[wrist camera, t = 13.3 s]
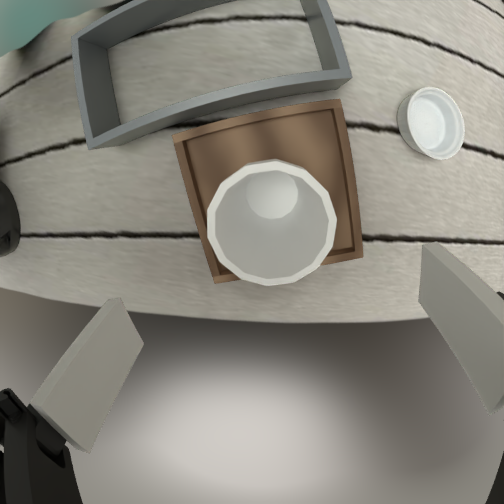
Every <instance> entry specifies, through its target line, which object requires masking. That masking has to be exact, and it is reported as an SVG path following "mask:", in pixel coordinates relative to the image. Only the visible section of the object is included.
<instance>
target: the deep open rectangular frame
mask: <svg viewBox="0 0 504 504" xmlns="http://www.w3.org/2000/svg"><path fill="white" fill-rule="evenodd" d="M231 1H236V0H134V1H132V2H129V3H127V4H125V5H123V6H122V7H120V8H118V9H116V10H114V11H112V12H110V13H108V14H107V15H105V16H103V17H101V18H100V19H98V20H96V21H95V22H93V23H91V24H90V25H88V26H87V27H85V28H83V29H82V30H80V31H79V32H77V33H76V34H74V35H73V36H71V43H72V55H73V66H74V74H75V82H76V89H77V96H78V102H79V108H80V113H81V118H82V124H83V128H84V133H85V138H86V142H87V146H88V150H92V149H99V148H106V147H113V146H120V145H122V144H124V143H127V142H129V141H131V140H134V139H136V138H139V137H141V136H144V135H147V134H149V133H152V132H155V131H157V130H160V129H163V128H166V127H169V126H171V125H174V124H177V123H180V122H184V121H187V120H190V119H193V118H196V117H200V116H203V115H206V114H210V113H214V112H217V111H221V110H225V109H229V108H232V107H237V106H241V105H245V104H249V103H254V102H259V101H263V100H268V99H273V98H279V97H284V96H290V95H297V94H303V93H310V92H318V91H326V90H336V89H338V88H339V87H340V86H342V85H343V84H344V83H346V82H347V81H349V80H350V79H351V78H352V74H351V70H350V67H349V63H348V60H347V57H346V53H345V50H344V47H343V44H342V41H341V38H340V35H339V32H338V29H337V26H336V23H335V20H334V18H333V15H332V12H331V10H330V7H329V5H328V2H327V0H300V2H301V4H302V7H303V9H304V12H305V15H306V18H307V21H308V23H309V26H310V29H311V32H312V35H313V38H314V41H315V45H316V48H317V51H318V54H319V58H320V61H321V65H322V68H323V71H314V72H306V73H298V74H292V75H285V76H279V77H274V78H268V79H263V80H258V81H254V82H249V83H245V84H240V85H236V86H232V87H228V88H224V89H221V90H217V91H213V92H210V93H206V94H203V95H200V96H197V97H193V98H190V99H187V100H184V101H181V102H178V103H175V104H172V105H170V106H167V107H164V108H161V109H159V110H156V111H153V112H151V113H148V114H146V115H143V116H141V117H139V118H136V119H134V120H131V121H129V122H127V123H125V124H122V125H121V124H120V120H119V115H118V111H117V106H116V101H115V96H114V91H113V85H112V80H111V74H110V68H109V61H108V55H107V49H108V48H110V47H112V46H114V45H116V44H118V43H120V42H121V41H123V40H125V39H127V38H130V37H132V36H134V35H136V34H138V33H140V32H142V31H145V30H147V29H149V28H152V27H154V26H156V25H159V24H161V23H164V22H166V21H169V20H172V19H174V18H177V17H180V16H183V15H186V14H189V13H192V12H195V11H198V10H201V9H205V8H208V7H212V6H215V5H219V4H223V3H227V2H231Z"/></svg>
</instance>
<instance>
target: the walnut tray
mask: <svg viewBox="0 0 504 504" xmlns="http://www.w3.org/2000/svg"><path fill="white" fill-rule="evenodd" d="M172 138H173V142H174V146H175V150H176V154H177V158H178V161H179V165H180V169H181V173H182V176H183V180H184V183H185V187H186V191H187V194H188V198H189V201H190V205H191V208H192V212H193V215H194V218H195V222H196V225H197V229H198V232H199V235H200V238H201V242H202V245H203V248H204V251H205V255H206V258H207V261H208V264H209V267H210V270H211V274H212V277H213V280H214V283H215V284H216V283H223V282H229V281H235V280H241V279H240V278H239V277H238V276H237V275H235V274H234V273H233V272H232V271H230V270H229V269H228V268H227V267H225V266H224V265H223V264H222V263H220V262H219V260H218V258H217V256H216V254H215V252H214V250H213V248H212V246H211V244H210V242H209V240H208V238H207V209H208V207H209V205H210V203H211V201H212V199H213V197H214V195H215V193H216V191H217V190H218V188H219V186H220V184H221V183H222V182H223V181H224V180H225V179H227V178H228V177H229V176H231V175H232V174H234V173H235V172H236V171H238V170H239V169H240V168H242V167H243V166H245V165H246V164H248V163H252V162H258V161H264V160H271V159H278V160H282V161H285V162H288V163H291V164H294V165H298V166H301V167H303V168H304V169H305V170H306V171H307V172H308V173H309V174H310V175H311V176H312V177H314V178H315V179H316V180H317V181H318V182H319V183H320V184H321V185H322V186H323V187H324V188H325V189H326V190H327V191H328V193H329V196H330V199H331V202H332V205H333V208H334V211H335V214H336V217H337V223H336V230H335V236H334V242H333V247H332V248H331V250H330V251H329V253H328V254H327V256H326V257H325V259H324V260H323V261H322V263H321V264H320V266H321V265H326V264H332V263H337V262H342V261H347V260H353V259H358V258H363V245H362V232H361V221H360V212H359V203H358V194H357V187H356V180H355V173H354V166H353V160H352V154H351V148H350V143H349V137H348V132H347V127H346V122H345V118H344V113H343V109H342V104H341V100H340V99H333V100H325V101H317V102H310V103H303V104H296V105H290V106H285V107H279V108H274V109H269V110H264V111H259V112H254V113H250V114H245V115H241V116H237V117H233V118H229V119H225V120H221V121H217V122H214V123H210V124H207V125H203V126H200V127H196V128H193V129H190V130H186V131H183V132H180V133H177V134H174V135H172Z"/></svg>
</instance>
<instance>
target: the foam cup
mask: <svg viewBox="0 0 504 504" xmlns="http://www.w3.org/2000/svg"><path fill="white" fill-rule="evenodd" d="M336 223H337V217H336V214H335V211H334V208H333V205H332V202H331V199H330V196H329V193H328V191H327V190H326V189H325V188H324V187H323V186H322V185H321V184H320V183H319V182H318V181H317V180H316V179H315V178H314V177H312V176H311V175H310V174H309V173H308V172H307V171H306V170H305V169H304V168H303V167H301V166H298V165H294V164H291V163H288V162H285V161H282V160H278V159H271V160H264V161H258V162H252V163H248V164H246V165H245V166H243V167H242V168H240V169H239V170H238V171H236V172H235V173H234V174H232V175H231V176H229V177H228V178H227V179H225V180H224V181H223V182H222V183H221V184H220V186H219V188H218V190H217V191H216V193H215V195H214V197H213V199H212V201H211V203H210V205H209V207H208V209H207V238H208V240H209V242H210V244H211V246H212V248H213V250H214V252H215V254H216V256H217V258H218V260H219V262H220V263H222V264H223V265H224V266H225V267H227V268H228V269H229V270H230V271H232V272H233V273H234V274H235V275H237V276H238V277H239V278H240V279H243V280H247V281H250V282H254V283H257V284H261V285H265V286H272V285H280V284H287V283H294V282H296V281H298V280H299V279H301V278H303V277H304V276H306V275H308V274H309V273H311V272H313V271H315V270H316V269H317V268H318V267H319V266H320V264H321V263H322V261H323V260H324V259H325V257H326V256H327V254H328V253H329V251H330V250H331V248H332V247H333V242H334V236H335V230H336Z"/></svg>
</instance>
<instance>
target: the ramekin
mask: <svg viewBox="0 0 504 504" xmlns="http://www.w3.org/2000/svg"><path fill="white" fill-rule="evenodd" d="M397 123H398V127H399V130H400V133H401V135H402V137H403V139H404V140H405V141H406V143H407V144H408V145H409V146H410V147H412V148H413V149H414V150H416V151H418V152H420V153H423V154H426V155H427V156H429V157H431V158H433V159H437V160H446V159H449V158H451V157H453V156H454V155H455V154H456V153H457V152H458V151H459V150H460V148H461V146H462V143H463V140H464V135H465V127H464V120H463V116H462V113H461V111H460V109H459V107H458V105H457V104H456V102H455V101H454V100H453V98H452V97H451V96H450V95H449V94H447V93H446V92H444V91H443V90H441V89H439V88H436V87H424V88H421V89H419V90H417V91H416V92H415V93H414V94H412V95H410V96H408V97H407V98H405V99H404V100H403V101H402V103H401V105H400V107H399V109H398V113H397Z"/></svg>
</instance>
